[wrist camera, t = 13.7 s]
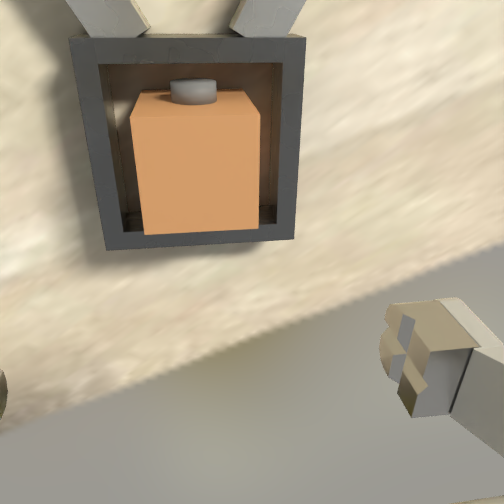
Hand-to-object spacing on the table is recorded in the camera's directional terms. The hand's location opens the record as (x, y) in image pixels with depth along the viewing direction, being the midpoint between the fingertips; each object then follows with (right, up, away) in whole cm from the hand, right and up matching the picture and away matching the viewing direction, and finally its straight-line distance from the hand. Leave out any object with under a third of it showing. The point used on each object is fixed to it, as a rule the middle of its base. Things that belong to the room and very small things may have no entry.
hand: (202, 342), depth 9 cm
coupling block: (-2, +8, +14) cm, 16 cm away
